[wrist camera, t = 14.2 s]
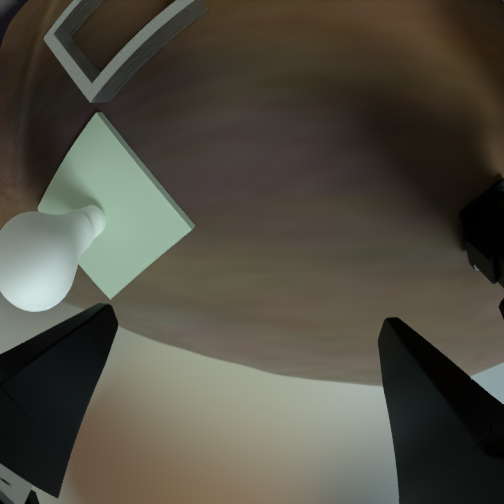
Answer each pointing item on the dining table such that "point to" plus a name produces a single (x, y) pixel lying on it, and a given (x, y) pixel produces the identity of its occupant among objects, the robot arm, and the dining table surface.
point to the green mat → (115, 205)
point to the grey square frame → (128, 59)
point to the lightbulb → (44, 254)
